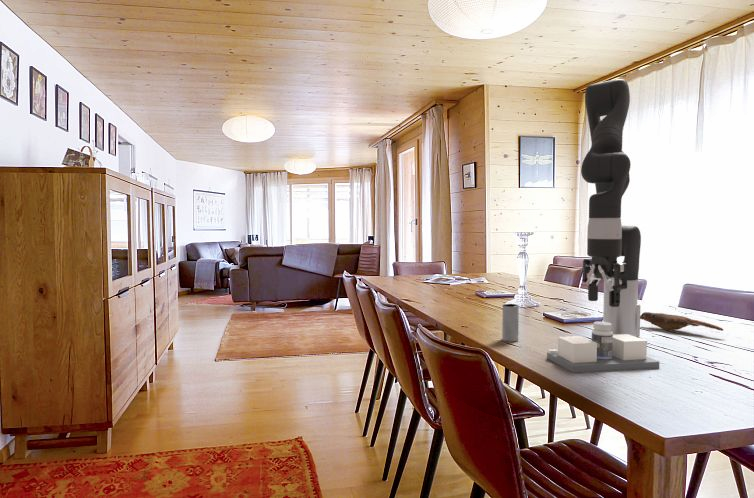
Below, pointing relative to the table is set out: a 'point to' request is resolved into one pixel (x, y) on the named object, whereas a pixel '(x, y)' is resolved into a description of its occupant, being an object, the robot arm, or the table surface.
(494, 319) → the table surface
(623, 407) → the table surface
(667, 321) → the bird sculpture
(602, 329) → the pill bottle
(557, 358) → the rail board
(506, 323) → the planter
